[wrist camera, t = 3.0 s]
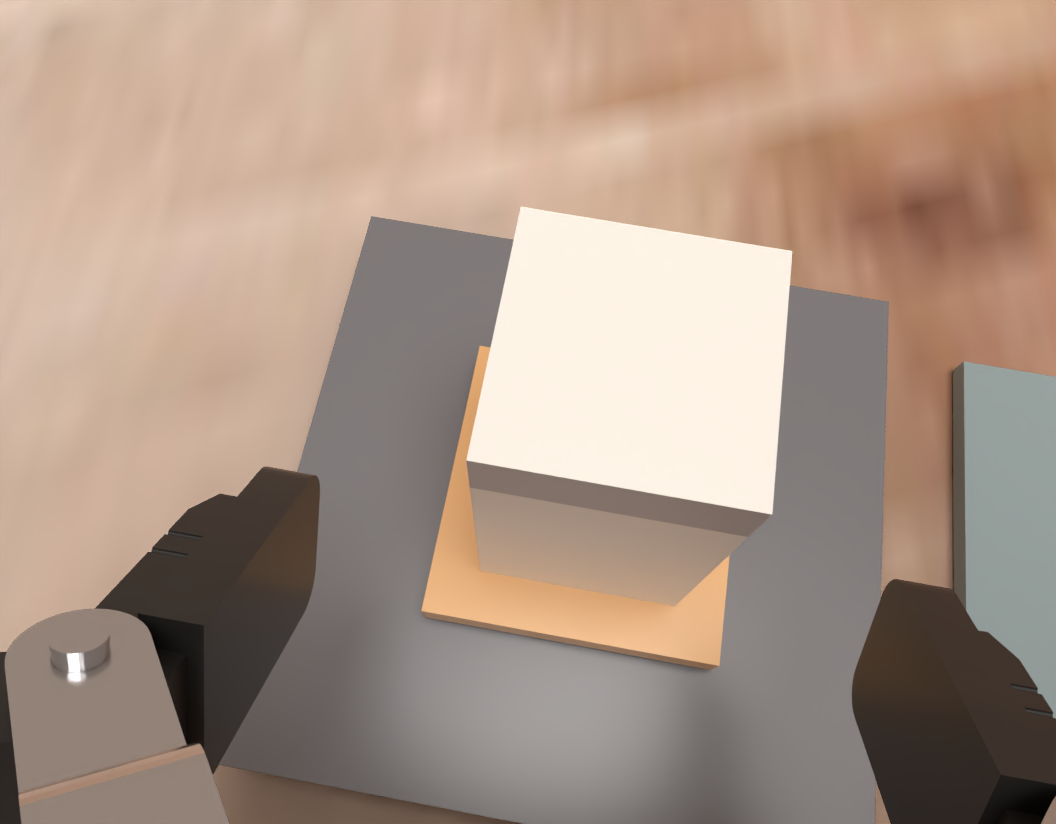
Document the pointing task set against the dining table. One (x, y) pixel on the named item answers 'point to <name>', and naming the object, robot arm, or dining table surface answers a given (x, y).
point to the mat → (1007, 511)
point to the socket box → (554, 667)
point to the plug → (615, 439)
